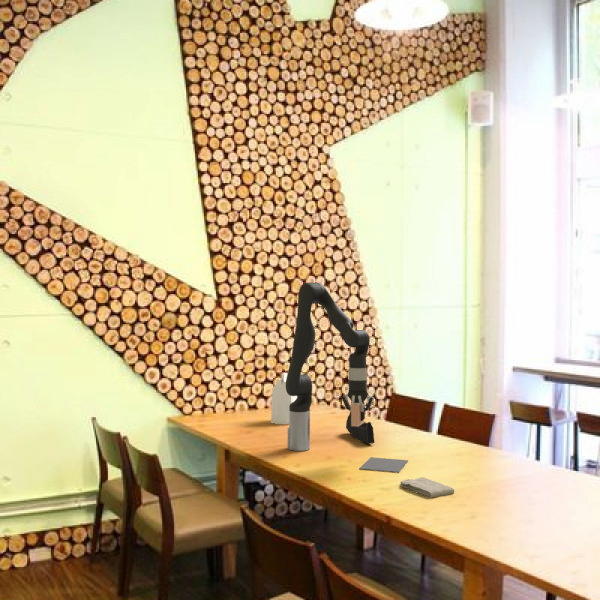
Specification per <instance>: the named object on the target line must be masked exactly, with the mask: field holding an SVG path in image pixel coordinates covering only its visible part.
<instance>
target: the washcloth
mask: <svg viewBox="0 0 600 600" xmlns="http://www.w3.org/2000/svg"><path fill="white" fill-rule="evenodd" d="M399 483H400V484H399V486H400V487H401V488H402V487H403V489H405V488H406V489H405V490H407V489H408V491H409V490H410V492H412V491H413V493H415V492H417V493H416V494H418V493H419V494H418V495H420V494H422V495H421V496H423V495H424V497H426V498H428V497H429V498H430V499H432V497H433V498H437V496H438V497H441V496H448V495H452V493H453V494H454V493H455V489H454V488H453V487H452V486H449V485H445V484H443V483H441V482H438V481H435V480H432V479H429V478H426V477H425V476H424V477H418V478H414V479H412V478H411V479H405V480H401V481H400V482H399Z"/></svg>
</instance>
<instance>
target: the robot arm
mask: <svg viewBox="0 0 600 600" xmlns="http://www.w3.org/2000/svg"><path fill="white" fill-rule="evenodd" d="M297 294H298V296H297V297H298V298H297V314H296V315H297V316H296V323H295V331H294V336H293V343H292V353H291V356H290V357H291V358H290V361H289V362H290V363H289V367H288V369H287V370H288V371H287V373H288V374H287V378H286V391H287V393H288V395H290V396H297V399H296V400H295V401H294V402H292V403H291V404H290V405H289V425H288V427H287V450H290V451H295V452H304V451H305V452H306V451H309V450H310V449H311V443H310V442H311V437H310V435H311V406H312V400H313V398H312V397H313V382H312V378H311V377H310V375H308V374H306V373H302V371H303V367H304V365H305V363H306V362H307V360H308V358H309V357H310V355H312V352H313V350H314V348H315V341H316V330H315V329H316V328H315V327H314V323H313V321H312V317H311V316H312V315H311V314H312V312H311V311H312V306H313V305H316V304H319V306H321V307H322V308H323V309H324V310H325V311H326V313H327V314H326V315H327V318H328V321H329V322H330V324H331V325H332V327H333V328H335V329H336V330H337V332H339V334H340V336H341V338H342V340H343V342H344V343H345V345H347V346H348V347H349V348H353V349H354V352H352V353H350V355H348V391H347V394H345V395H342V396H341V400H342V402H343V404H344V407H345V409H346V410H347V411H349V412H351V404H352V403H360V408H361V421H363V420H364V421H365V420H366V412H368V411H369V410H370V409H371V406H372V404H373V402H374V399H375V397H374V396H371V395H369V392H368V382H367V381H368V372H367V356H368V353H369V348H370V344H371V343H370V342H371V340H370V339H371V338H370V335H369V333H368V331H366V330H365V329H357V330H356V329H354V322H353V320H352V319H351V318H350V317H349V316H347V314H346V313H345V312H344V311H343V310H342V309H341V308H340V307H339V305H338V304H337V303H336V301H335V300H334V298H333V297H332V296H331V294H330V292H329V291H328V289H327V288H326V286H324V285H323V284H322V283H320V282H304V283H302V284H301V285H300V287H299V289H298V293H297ZM348 400H350V401H351V403H349V401H348ZM366 400H367V404H365V401H366Z"/></svg>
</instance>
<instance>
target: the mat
mask: <svg viewBox="0 0 600 600" xmlns="http://www.w3.org/2000/svg"><path fill="white" fill-rule="evenodd" d="M408 462H409V459H398V458H397V459H396V458H386V457H384V458H383V457H382V458H381V457H374V456H371V457H369V458H368V459H367V460H366V461H365V462H364V463H363V464H362V465H361V466H360V467H358V469H359V470H361V469H364V470H363V471H372V470H378V471H377V472H384V471H390V472H389V473H395V472H398V473H397V474H400V472H401V471H402V470H403V468H404V467H405V466H406V465H407V463H408ZM405 464H406V465H405ZM401 469H402V470H401ZM400 470H401V471H400Z"/></svg>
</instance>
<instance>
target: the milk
mask: <svg viewBox="0 0 600 600" xmlns="http://www.w3.org/2000/svg"><path fill="white" fill-rule="evenodd" d="M287 374H288V372H284V373H281V378H280V379H278V380H277V382H276V384H275V385H274V386H273V388H272V391H271V411H270V412H271V413H270V414H271V416H270V424H271V423H275V424H274V425H286V424H289V405H290V404H291V403H292V402H294V401H295V400H296V399H297V396H290V395H288V393H287V391H286V378H287Z"/></svg>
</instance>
